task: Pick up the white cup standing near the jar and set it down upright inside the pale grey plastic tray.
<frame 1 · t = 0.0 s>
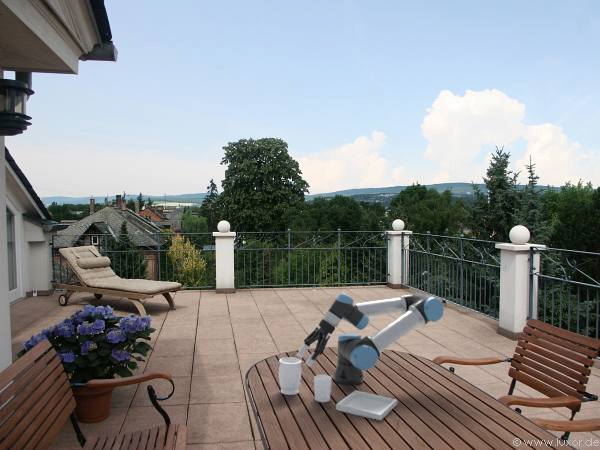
hand: (303, 361, 219), 15 cm above the table, tool tilted 35°, fingers open, 13 cm apart
jar: (289, 392, 221), on the table
grey tray: (367, 407, 205), on the table
white cup: (322, 400, 213), on the table
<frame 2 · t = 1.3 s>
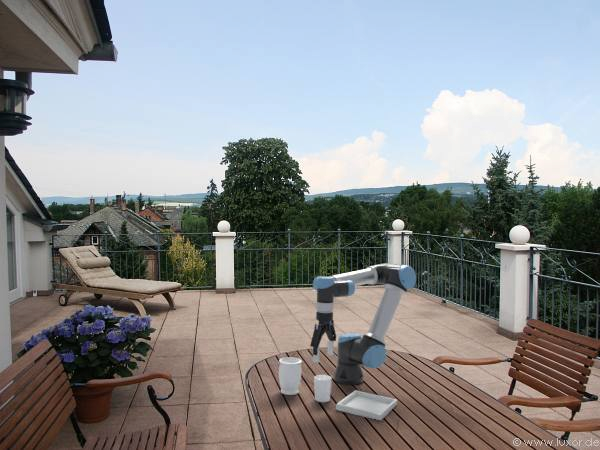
hand: (323, 358, 213), 19 cm above the table, tool pointing down, fingers open, 13 cm apart
nothing on the table moved.
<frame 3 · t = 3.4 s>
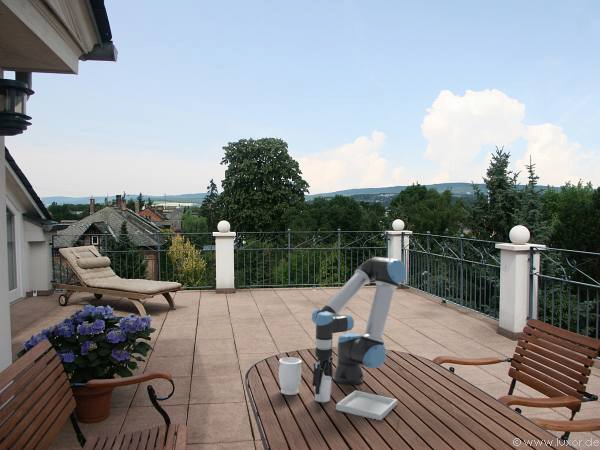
hand: (322, 397, 213), 1 cm above the table, tool pointing down, fingers closed on white cup, 8 cm apart
white cup: (322, 399, 213), on the table, touching gripper
everything else where it was.
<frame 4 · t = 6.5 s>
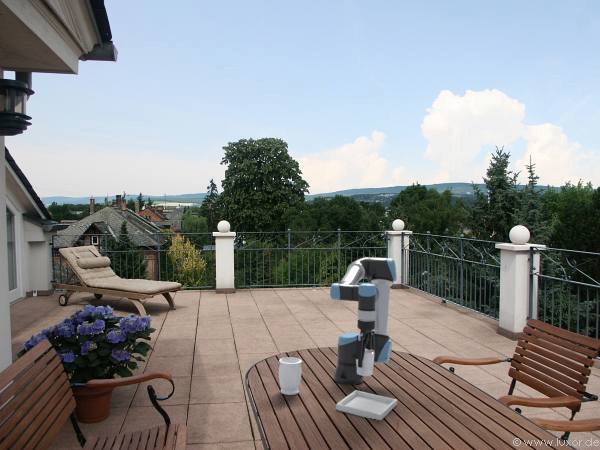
hand: (364, 372, 205), 15 cm above the table, tool pointing down, fingers closed on white cup, 8 cm apart
white cup: (364, 374, 205), point 14 cm above the table, touching gripper
everything else where it was.
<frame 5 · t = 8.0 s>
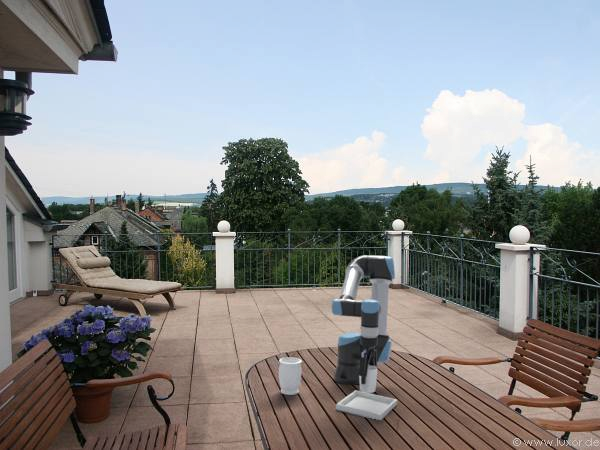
hand: (367, 388, 205), 8 cm above the table, tool pointing down, fingers closed on white cup, 8 cm apart
white cup: (367, 390, 205), point 7 cm above the table, touching gripper
everything else where it was.
when the fingers open (3 cm above the table, at t = 9.4 s): white cup drops 1 cm, resting on grey tray.
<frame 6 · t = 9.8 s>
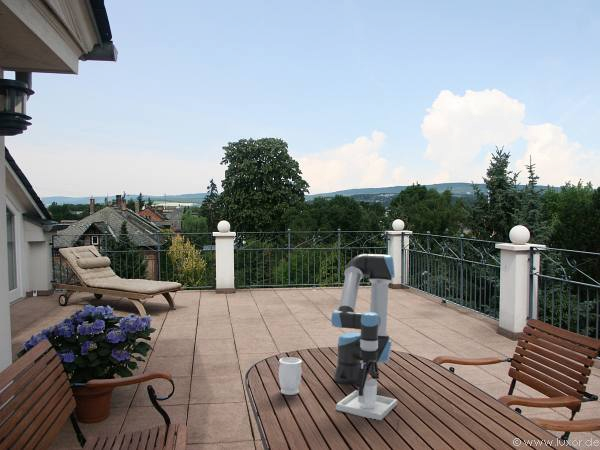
hand: (367, 398, 205), 4 cm above the table, tool pointing down, fingers open, 12 cm apart
white cup: (367, 406, 205), resting on grey tray
everything else where it was.
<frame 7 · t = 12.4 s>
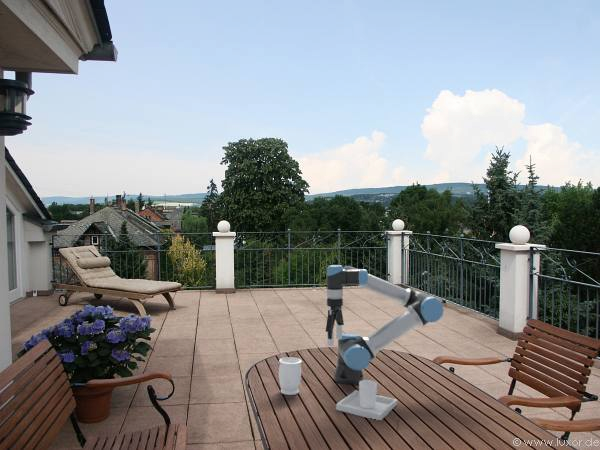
hand: (335, 342, 226), 23 cm above the table, tool pointing down, fingers open, 13 cm apart
nothing on the table moved.
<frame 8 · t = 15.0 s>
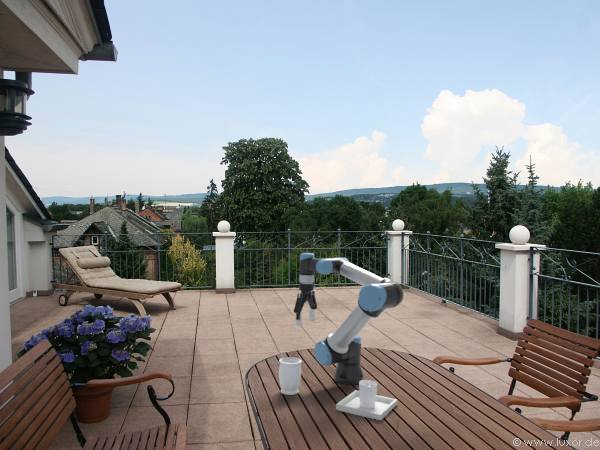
hand: (305, 323, 246), 27 cm above the table, tool pointing down, fingers open, 13 cm apart
nothing on the table moved.
at the end: white cup inside the target area on the grey tray (0.3 cm from its centre), point 0.4 cm above the grey tray's base; white cup tilted 0°; the gripper is holding nothing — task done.
